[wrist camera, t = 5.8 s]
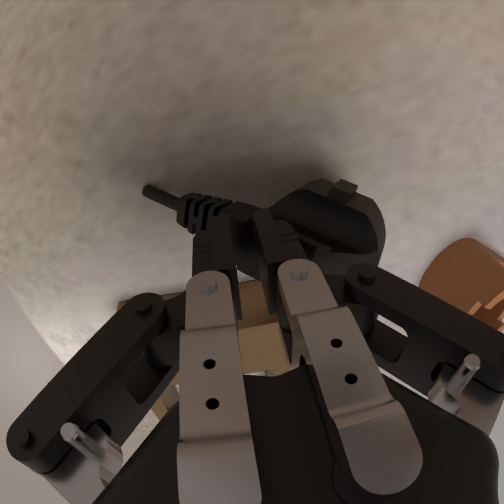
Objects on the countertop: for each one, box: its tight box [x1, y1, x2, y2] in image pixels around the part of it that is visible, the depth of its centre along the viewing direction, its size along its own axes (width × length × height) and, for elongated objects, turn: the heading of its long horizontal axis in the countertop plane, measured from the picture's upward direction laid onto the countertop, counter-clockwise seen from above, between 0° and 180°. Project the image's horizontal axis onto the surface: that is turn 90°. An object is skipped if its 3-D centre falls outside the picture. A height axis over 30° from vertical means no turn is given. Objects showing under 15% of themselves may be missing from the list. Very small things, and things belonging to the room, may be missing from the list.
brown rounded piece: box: [419, 238, 504, 332], centre depth 25 cm, size 18×8×7 cm, turn 67°
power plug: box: [142, 179, 386, 281], centre depth 16 cm, size 6×8×12 cm
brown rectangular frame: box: [117, 280, 289, 420], centre depth 23 cm, size 16×11×5 cm, turn 4°
